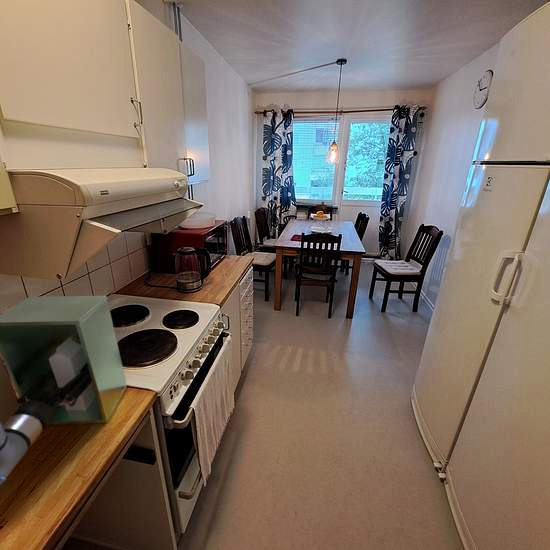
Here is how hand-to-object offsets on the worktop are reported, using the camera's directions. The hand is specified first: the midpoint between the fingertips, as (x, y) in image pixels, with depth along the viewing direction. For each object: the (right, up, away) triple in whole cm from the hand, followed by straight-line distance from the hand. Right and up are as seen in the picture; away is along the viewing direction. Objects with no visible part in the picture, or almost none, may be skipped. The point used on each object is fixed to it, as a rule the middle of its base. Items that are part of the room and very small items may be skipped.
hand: (82, 360), depth 88 cm
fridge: (0, -14, 0) cm, 14 cm away
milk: (0, -13, 0) cm, 13 cm away
